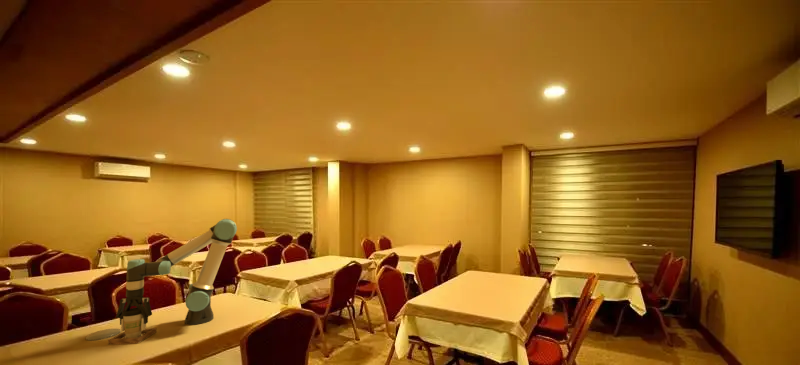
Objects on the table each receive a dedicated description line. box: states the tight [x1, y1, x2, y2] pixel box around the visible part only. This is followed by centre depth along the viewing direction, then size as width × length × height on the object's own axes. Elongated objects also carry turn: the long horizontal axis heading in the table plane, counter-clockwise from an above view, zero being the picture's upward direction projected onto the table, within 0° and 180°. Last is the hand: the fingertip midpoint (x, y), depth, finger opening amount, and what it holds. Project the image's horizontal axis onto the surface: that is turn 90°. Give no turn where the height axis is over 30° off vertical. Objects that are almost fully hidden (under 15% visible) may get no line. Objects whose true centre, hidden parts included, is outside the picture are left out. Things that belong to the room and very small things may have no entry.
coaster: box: [85, 328, 121, 342], centre depth 182 cm, size 14×14×1 cm
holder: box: [108, 327, 157, 345], centre depth 177 cm, size 14×14×2 cm
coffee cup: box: [122, 307, 143, 338], centre depth 178 cm, size 10×10×15 cm
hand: (133, 330), depth 177 cm, fingers closed on coffee cup, 10 cm apart
